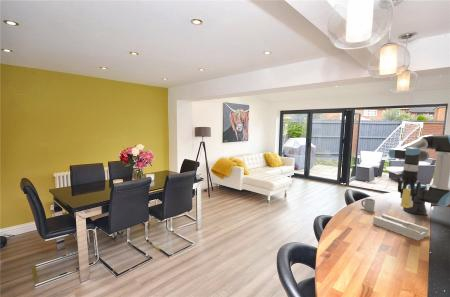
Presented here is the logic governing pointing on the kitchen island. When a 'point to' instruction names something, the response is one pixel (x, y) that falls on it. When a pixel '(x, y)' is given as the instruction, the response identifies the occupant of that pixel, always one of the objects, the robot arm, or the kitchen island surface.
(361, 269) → the kitchen island surface
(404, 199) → the yellow juice carton
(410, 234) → the rail
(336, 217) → the kitchen island surface
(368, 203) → the cup
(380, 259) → the kitchen island surface
